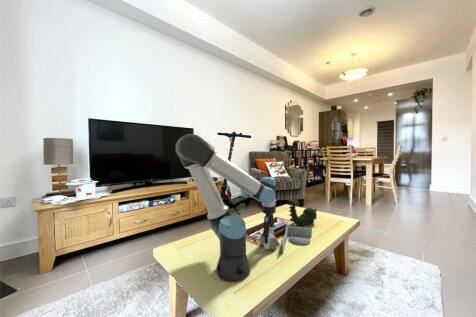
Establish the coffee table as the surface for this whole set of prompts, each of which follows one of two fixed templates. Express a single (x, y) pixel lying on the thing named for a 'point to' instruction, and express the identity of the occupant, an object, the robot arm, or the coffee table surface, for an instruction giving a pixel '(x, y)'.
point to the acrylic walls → (296, 233)
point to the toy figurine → (302, 215)
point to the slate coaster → (299, 240)
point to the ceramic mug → (270, 241)
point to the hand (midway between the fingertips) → (269, 243)
